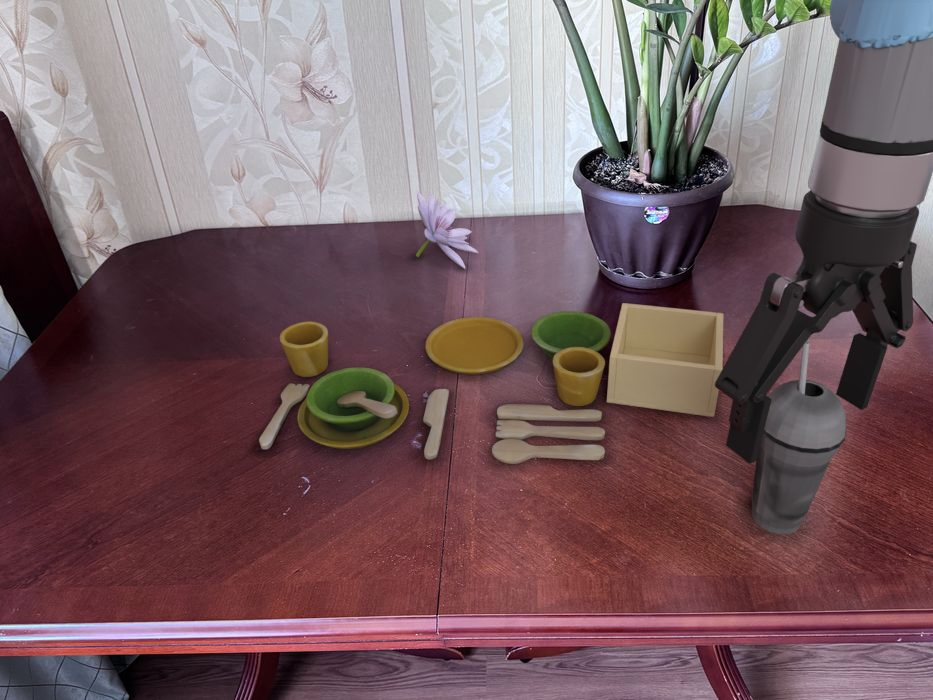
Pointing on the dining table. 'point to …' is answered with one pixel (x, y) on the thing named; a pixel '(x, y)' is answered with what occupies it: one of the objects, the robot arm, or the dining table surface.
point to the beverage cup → (795, 450)
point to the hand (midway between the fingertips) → (798, 426)
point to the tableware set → (461, 351)
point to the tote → (666, 359)
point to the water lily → (442, 228)
